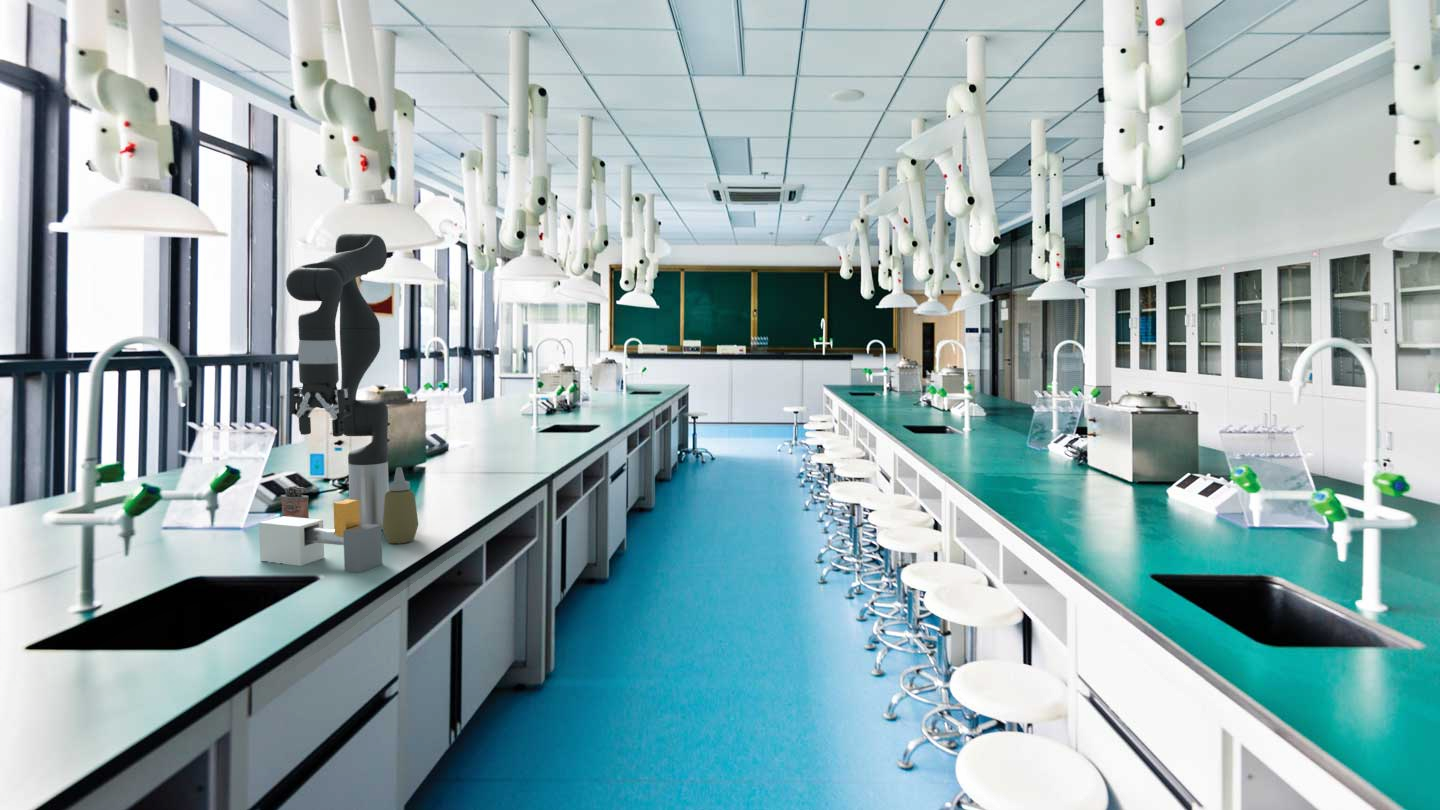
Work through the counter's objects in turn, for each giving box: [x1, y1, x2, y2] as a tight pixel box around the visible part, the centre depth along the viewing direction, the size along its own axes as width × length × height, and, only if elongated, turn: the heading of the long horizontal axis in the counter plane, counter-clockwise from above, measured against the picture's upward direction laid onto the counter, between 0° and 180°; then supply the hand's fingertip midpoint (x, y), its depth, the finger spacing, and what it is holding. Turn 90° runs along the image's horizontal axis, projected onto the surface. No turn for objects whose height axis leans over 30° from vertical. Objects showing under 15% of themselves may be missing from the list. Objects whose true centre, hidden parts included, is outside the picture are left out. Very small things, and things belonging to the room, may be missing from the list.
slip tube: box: [304, 498, 360, 546], centre depth 159 cm, size 18×4×10 cm, turn 74°
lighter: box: [280, 485, 310, 519], centre depth 194 cm, size 8×3×10 cm, turn 73°
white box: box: [258, 516, 325, 567], centre depth 162 cm, size 11×6×9 cm, turn 74°
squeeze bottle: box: [382, 466, 419, 545], centre depth 178 cm, size 8×8×18 cm
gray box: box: [343, 524, 383, 573], centre depth 157 cm, size 4×6×9 cm, turn 164°
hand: (321, 435), depth 161 cm, fingers open, 8 cm apart
